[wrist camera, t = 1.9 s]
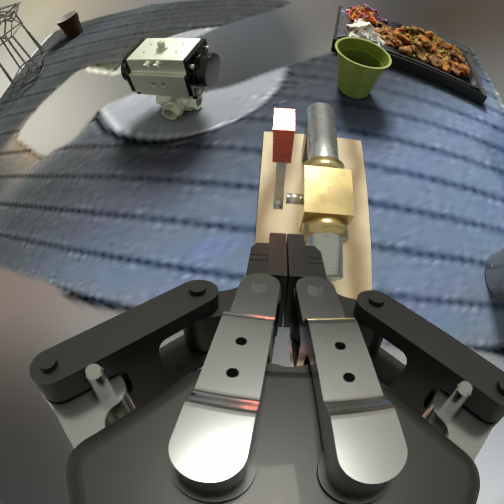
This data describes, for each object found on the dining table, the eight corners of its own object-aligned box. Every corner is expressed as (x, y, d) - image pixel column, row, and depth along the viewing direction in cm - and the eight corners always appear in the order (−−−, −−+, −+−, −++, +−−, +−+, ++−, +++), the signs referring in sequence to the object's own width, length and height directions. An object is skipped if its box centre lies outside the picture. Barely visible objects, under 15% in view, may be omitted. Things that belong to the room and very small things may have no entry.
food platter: (330, 51, 63) (336, 20, 53) (337, 15, 69) (341, -10, 60) (480, 107, 57) (496, 84, 48) (464, 61, 64) (475, 40, 54)
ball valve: (136, 117, 57) (106, 58, 40) (154, 91, 59) (131, 32, 42) (211, 129, 55) (194, 58, 38) (227, 100, 57) (216, 31, 40)
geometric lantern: (45, 78, 67) (-4, 9, 34) (12, 97, 68) (-37, 37, 34) (56, 53, 72) (16, -11, 38) (25, 71, 72) (-17, 14, 38)
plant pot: (384, 108, 55) (400, 72, 45) (333, 105, 56) (343, 65, 45) (370, 75, 59) (381, 40, 48) (323, 71, 59) (329, 34, 48)
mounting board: (358, 145, 52) (360, 140, 51) (368, 307, 43) (371, 306, 42) (264, 137, 53) (264, 131, 52) (250, 301, 45) (250, 299, 43)
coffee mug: (82, 35, 74) (73, 16, 65) (63, 43, 74) (53, 26, 65) (89, 22, 78) (81, 5, 68) (70, 30, 78) (62, 13, 68)
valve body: (330, 145, 50) (342, 100, 39) (333, 291, 43) (356, 272, 32) (286, 141, 51) (289, 95, 40) (279, 288, 43) (284, 268, 32)
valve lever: (285, 193, 40) (294, 108, 24) (284, 213, 39) (294, 132, 24) (271, 192, 40) (274, 106, 25) (270, 212, 39) (273, 131, 24)
